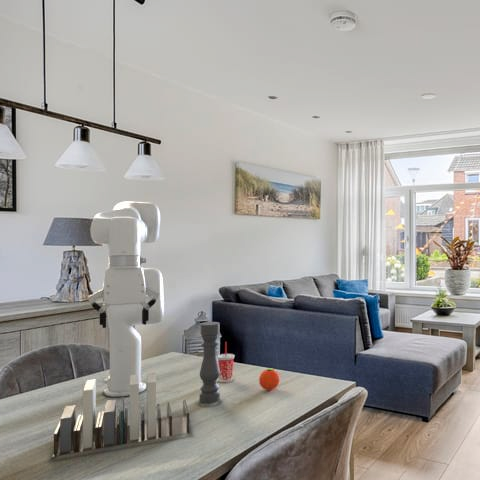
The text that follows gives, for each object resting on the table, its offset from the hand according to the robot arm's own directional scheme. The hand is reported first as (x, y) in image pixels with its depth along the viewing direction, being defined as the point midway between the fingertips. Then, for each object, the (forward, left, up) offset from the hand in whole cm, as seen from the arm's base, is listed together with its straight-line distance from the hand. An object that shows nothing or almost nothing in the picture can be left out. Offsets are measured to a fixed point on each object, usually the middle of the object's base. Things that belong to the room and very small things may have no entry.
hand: (124, 325), depth 122 cm
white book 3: (+10, 0, -27) cm, 29 cm away
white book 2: (+7, -3, -27) cm, 28 cm away
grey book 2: (+3, -7, -27) cm, 28 cm away
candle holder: (+10, +24, -28) cm, 38 cm away
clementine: (+21, +42, -28) cm, 54 cm away
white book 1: (0, -10, -27) cm, 29 cm away
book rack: (+6, -4, -28) cm, 29 cm away
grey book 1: (-4, -13, -27) cm, 30 cm away
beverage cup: (+1, +45, -28) cm, 53 cm away
